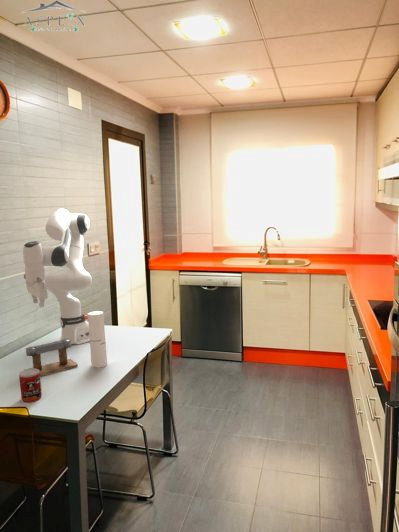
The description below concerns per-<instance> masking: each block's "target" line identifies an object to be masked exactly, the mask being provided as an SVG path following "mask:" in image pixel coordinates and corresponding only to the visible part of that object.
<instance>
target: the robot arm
mask: <svg viewBox="0 0 399 532" xmlns="http://www.w3.org/2000/svg"><path fill="white" fill-rule="evenodd" d="M90 224H91V223H90V219H89V216H88V215H87V214H85V213H70V212H69V210H67V209H65V208H58V209H57V210H55V211H54V212H53V213H51V215H50V217H49V219H48V220H47V221H46V224H45V232H46V234H47V236H49V238H51V239H53V240H55V241H58V242H59V241H60V242H59V244H58V245H55V246H53V245H50V246H48V245H47V246H44V245H42V244H41V242H40V241H36V240H34V241H29V242H26V243H25V244H23V247H22V256H23V258H22V259H23V264H24V267H25V268H24V274H23V279H24V280H25V285H26V291H27V292H28V293H29V294H30V295H31V299H32V302H33V303H34V304H39V307H40V308H44V307H45V301H46V300H47V299H48V297H49V294H48V293H49V292H51V293H52V295H54V297H55V298H56V299H57V302H58V303H59V310H60V319H59V320H60V327H61V332H60V333H61V335H60V340H59V341H61V340H64V339H70V340H71V345H82V344H84V343H88V342H89V343H90V337H89V324H88V314H87V315H86V314H82V304H81V301H80V299H79V298H77V297H76V296H75V297H74V296H73V295H72V294H71V292H83V291H87V290H90V289H91V287H92V284H93V278H92V275H91V274H90V273H89V271H86V270H85V268H84V265H83V253H84V237H83V236H85V234H86V233H87V232H88V230H89V229H90ZM64 266H65V267H66V268H68V269H69V270H68V271H53V272H51V273H47V275H46V268H45V267H61V268H63V267H64ZM48 291H49V292H48ZM45 299H46V300H45ZM38 300H39V301H38Z"/></svg>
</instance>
